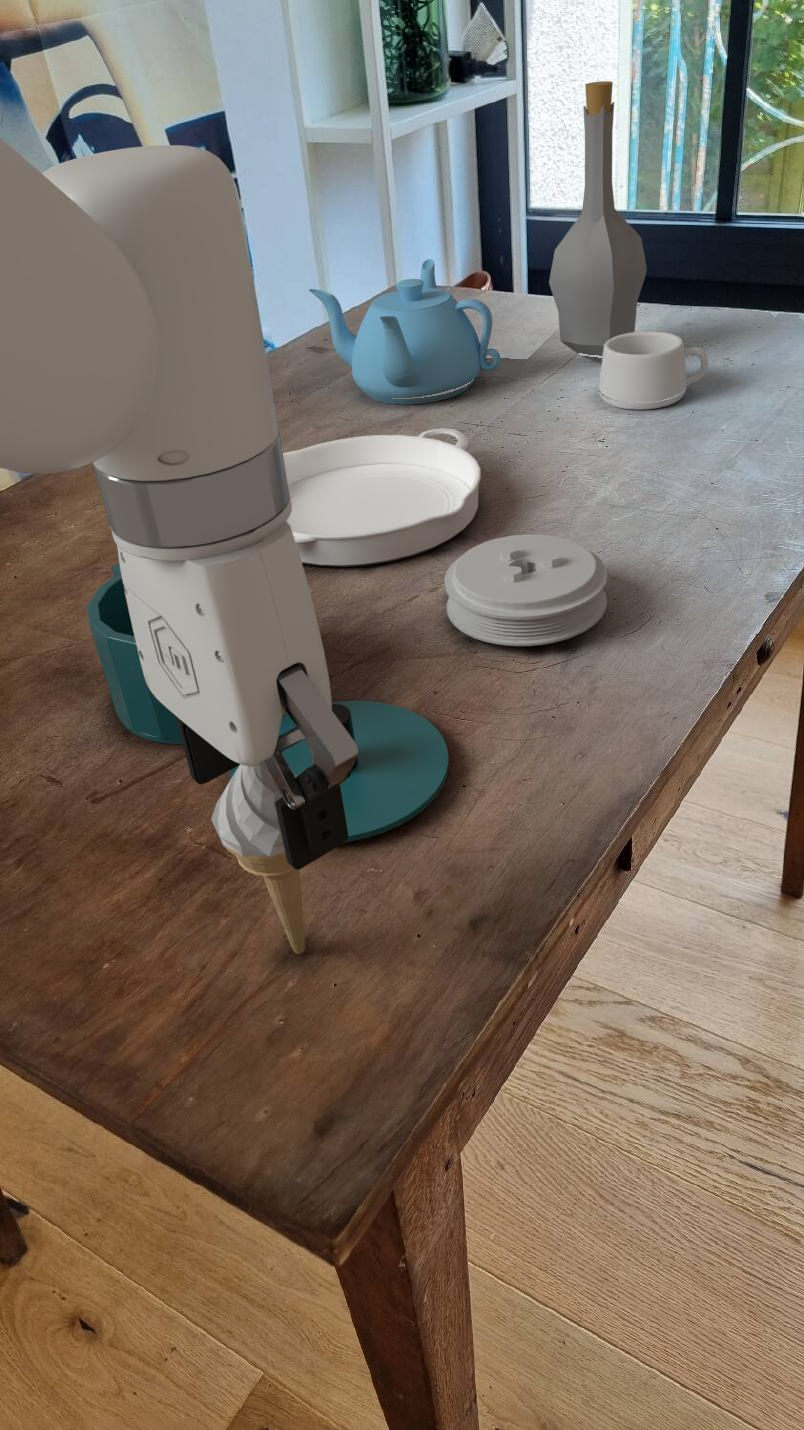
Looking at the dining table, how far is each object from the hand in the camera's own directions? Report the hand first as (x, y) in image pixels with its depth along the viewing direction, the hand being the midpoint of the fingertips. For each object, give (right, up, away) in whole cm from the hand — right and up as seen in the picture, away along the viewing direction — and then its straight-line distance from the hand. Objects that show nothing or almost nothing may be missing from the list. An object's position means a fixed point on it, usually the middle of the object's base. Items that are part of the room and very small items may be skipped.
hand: (267, 808), depth 55 cm
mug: (+35, +41, +70) cm, 88 cm away
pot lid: (+3, +1, +18) cm, 18 cm away
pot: (-8, +7, +29) cm, 31 cm away
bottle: (+31, +48, +81) cm, 99 cm away
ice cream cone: (+1, -9, +6) cm, 11 cm away
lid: (+17, +13, +33) cm, 40 cm away
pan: (+3, +24, +52) cm, 57 cm away
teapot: (+8, +45, +80) cm, 93 cm away
